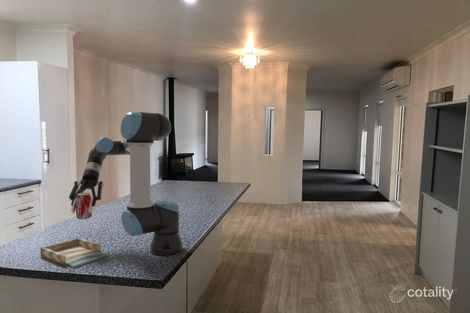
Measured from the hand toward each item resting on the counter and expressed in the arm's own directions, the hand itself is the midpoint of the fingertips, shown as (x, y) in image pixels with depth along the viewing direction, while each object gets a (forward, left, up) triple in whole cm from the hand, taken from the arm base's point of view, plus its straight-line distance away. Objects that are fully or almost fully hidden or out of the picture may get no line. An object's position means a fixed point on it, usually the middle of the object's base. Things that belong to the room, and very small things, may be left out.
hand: (81, 211), depth 163 cm
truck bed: (-6, +7, -18) cm, 20 cm away
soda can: (+2, -3, -4) cm, 6 cm away
